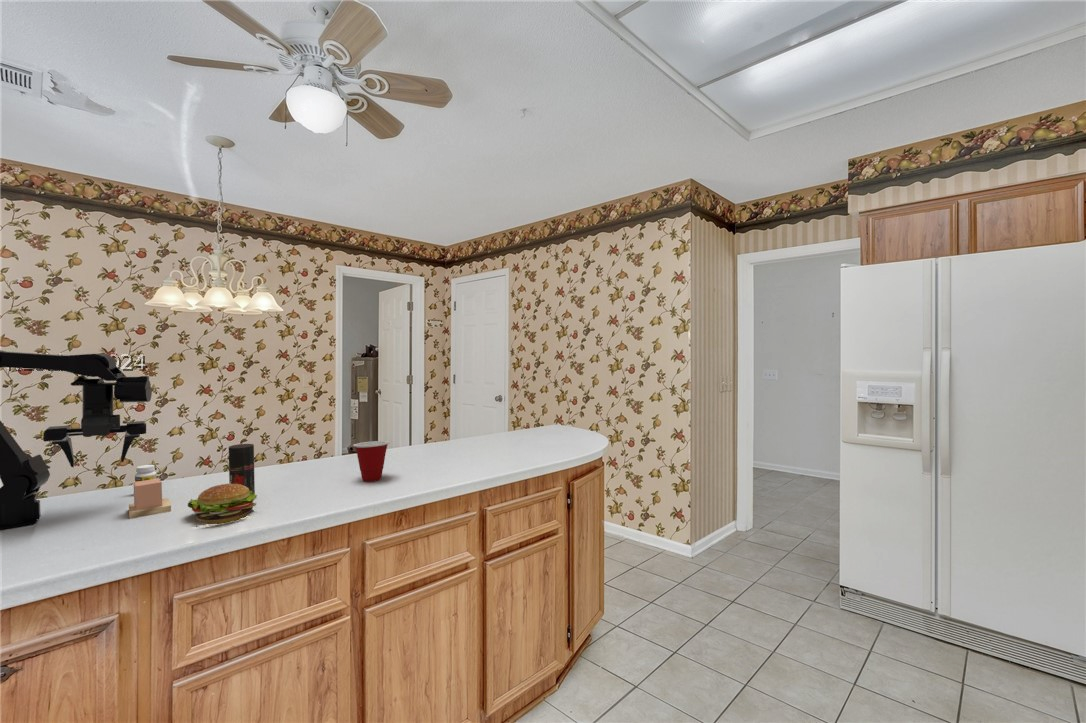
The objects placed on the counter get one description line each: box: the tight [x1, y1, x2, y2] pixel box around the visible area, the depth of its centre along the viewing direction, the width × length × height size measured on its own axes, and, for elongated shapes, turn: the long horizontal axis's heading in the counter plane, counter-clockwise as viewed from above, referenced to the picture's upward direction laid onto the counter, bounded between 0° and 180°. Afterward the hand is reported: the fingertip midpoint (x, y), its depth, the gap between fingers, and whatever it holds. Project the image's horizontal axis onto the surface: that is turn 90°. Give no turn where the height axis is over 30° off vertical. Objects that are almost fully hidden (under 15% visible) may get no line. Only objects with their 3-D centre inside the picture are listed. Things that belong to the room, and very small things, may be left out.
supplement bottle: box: [134, 464, 158, 482], centre depth 136 cm, size 5×5×8 cm
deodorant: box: [228, 443, 256, 495], centre depth 133 cm, size 6×6×15 cm
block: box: [132, 477, 163, 510], centre depth 121 cm, size 5×5×6 cm
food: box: [187, 483, 258, 525], centre depth 120 cm, size 14×14×8 cm
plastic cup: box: [353, 440, 390, 483], centre depth 153 cm, size 11×11×12 cm
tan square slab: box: [128, 497, 172, 520], centre depth 122 cm, size 8×8×2 cm
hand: (98, 464), depth 121 cm, fingers open, 9 cm apart
